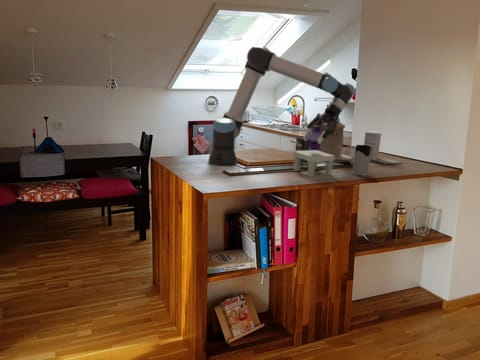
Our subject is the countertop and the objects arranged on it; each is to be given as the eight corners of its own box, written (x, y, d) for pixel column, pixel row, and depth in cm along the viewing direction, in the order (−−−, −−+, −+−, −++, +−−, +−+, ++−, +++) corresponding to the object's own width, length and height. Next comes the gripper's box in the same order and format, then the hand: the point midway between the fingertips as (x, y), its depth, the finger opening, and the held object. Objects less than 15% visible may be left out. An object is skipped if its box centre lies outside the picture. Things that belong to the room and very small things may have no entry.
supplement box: (377, 160, 280) (381, 133, 276) (361, 159, 283) (365, 132, 278) (377, 158, 289) (381, 131, 285) (362, 156, 291) (366, 130, 287)
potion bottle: (326, 149, 235) (328, 126, 232) (317, 151, 229) (319, 127, 226) (312, 146, 241) (314, 124, 238) (303, 148, 235) (305, 125, 232)
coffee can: (299, 164, 255) (301, 139, 252) (291, 160, 265) (293, 136, 261) (315, 164, 259) (318, 139, 256) (306, 160, 268) (309, 136, 265)
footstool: (309, 176, 228) (311, 157, 226) (292, 169, 241) (293, 151, 238) (332, 174, 236) (335, 155, 233) (314, 168, 248) (316, 150, 246)
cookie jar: (353, 160, 276) (359, 107, 268) (315, 160, 270) (320, 105, 262) (335, 152, 299) (340, 103, 291) (299, 152, 293) (304, 101, 285)
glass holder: (348, 173, 241) (351, 145, 237) (362, 170, 251) (365, 143, 247) (362, 176, 235) (366, 148, 231) (376, 173, 245) (380, 146, 241)
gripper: (354, 116, 233) (330, 149, 226) (321, 111, 248) (299, 142, 242) (348, 105, 228) (324, 139, 222) (316, 101, 244) (292, 132, 237)
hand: (311, 140), depth 232 cm, fingers closed on potion bottle, 8 cm apart
